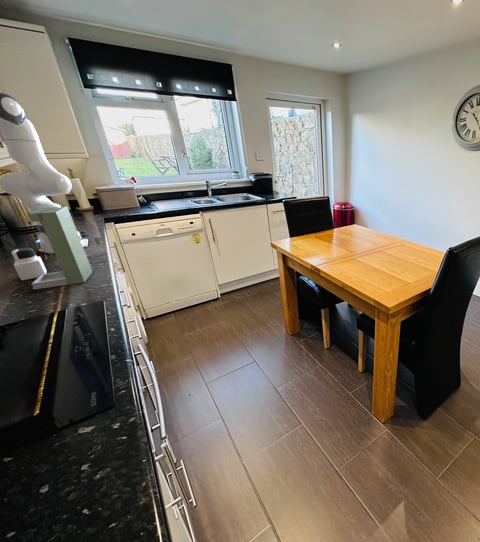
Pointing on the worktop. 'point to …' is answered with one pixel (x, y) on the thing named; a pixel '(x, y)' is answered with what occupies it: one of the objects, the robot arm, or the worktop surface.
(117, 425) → the worktop surface
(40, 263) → the medicine bottle
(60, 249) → the sage green upright pillar
